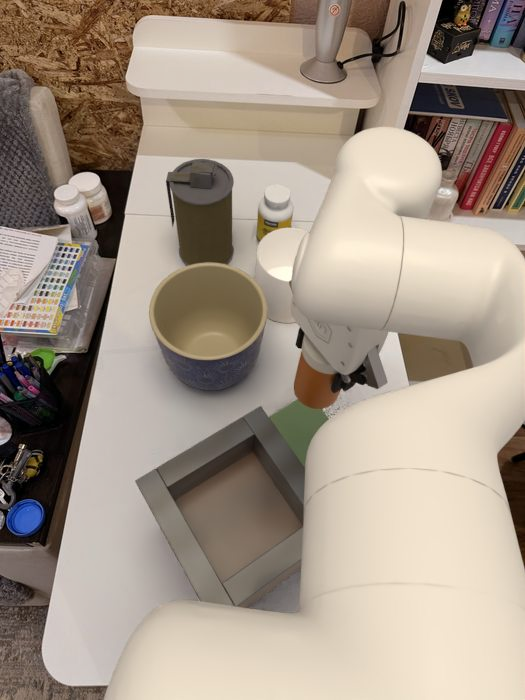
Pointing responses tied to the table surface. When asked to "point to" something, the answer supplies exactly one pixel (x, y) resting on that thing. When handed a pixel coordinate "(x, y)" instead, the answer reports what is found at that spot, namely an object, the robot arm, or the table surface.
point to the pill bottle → (274, 210)
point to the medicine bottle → (314, 378)
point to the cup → (278, 270)
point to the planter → (209, 323)
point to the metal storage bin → (232, 510)
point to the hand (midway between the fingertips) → (324, 362)
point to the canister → (202, 210)
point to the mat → (298, 426)
